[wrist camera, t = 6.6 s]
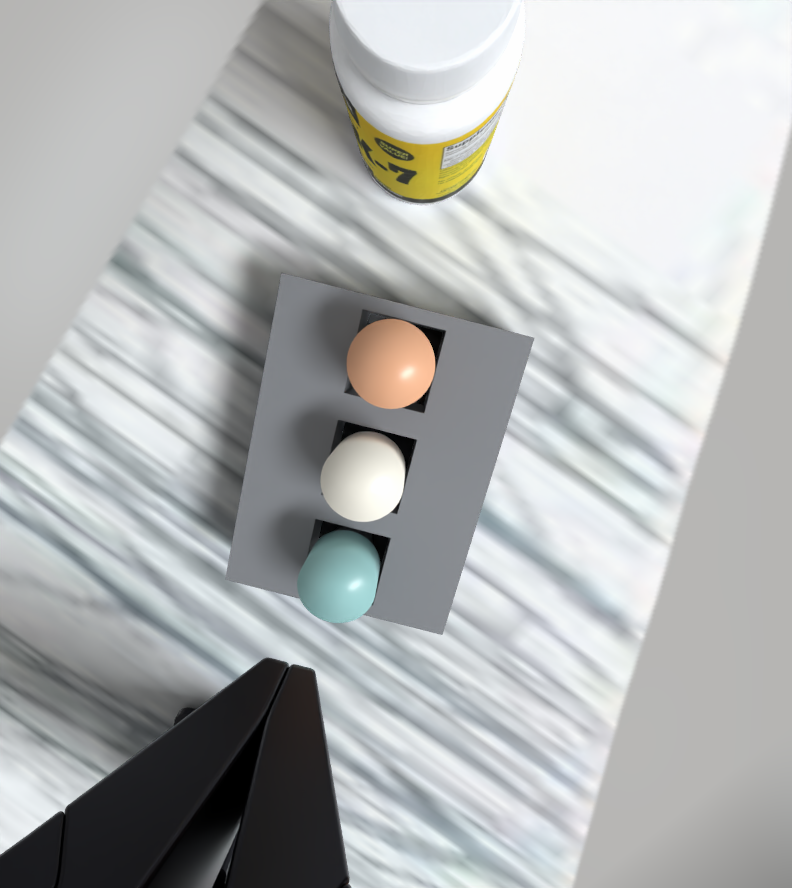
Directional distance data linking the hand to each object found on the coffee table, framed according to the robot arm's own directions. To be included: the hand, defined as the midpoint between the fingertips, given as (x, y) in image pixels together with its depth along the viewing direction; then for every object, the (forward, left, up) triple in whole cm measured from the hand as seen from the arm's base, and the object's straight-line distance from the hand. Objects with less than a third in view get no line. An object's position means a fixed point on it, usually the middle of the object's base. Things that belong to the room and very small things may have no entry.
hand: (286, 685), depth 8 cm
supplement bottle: (+13, +1, -13) cm, 18 cm away
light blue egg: (-3, 0, -12) cm, 13 cm away
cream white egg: (+1, 0, -12) cm, 12 cm away
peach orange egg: (+5, 0, -12) cm, 13 cm away
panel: (+1, 0, -12) cm, 13 cm away
